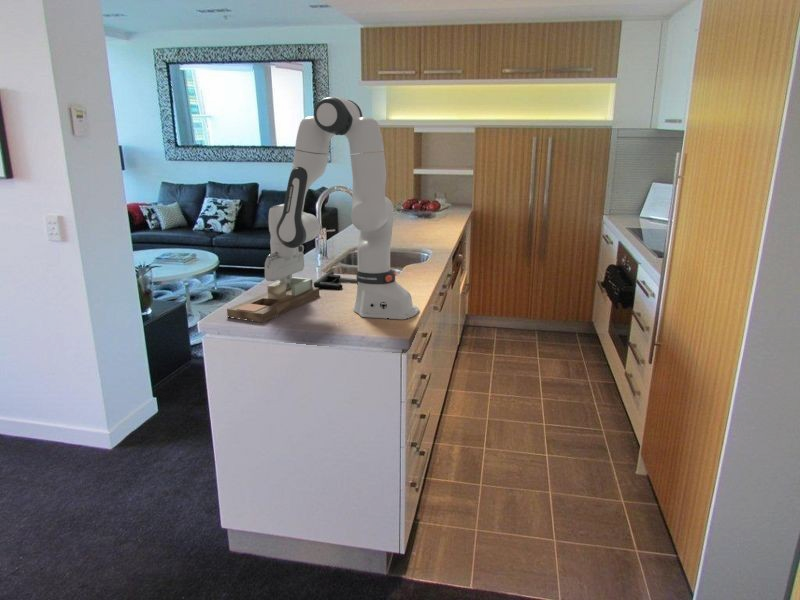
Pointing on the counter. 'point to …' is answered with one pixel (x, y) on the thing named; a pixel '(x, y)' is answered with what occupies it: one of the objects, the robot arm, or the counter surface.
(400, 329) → the counter surface
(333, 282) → the door handle
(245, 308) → the tile
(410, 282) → the counter surface
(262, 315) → the board
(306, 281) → the cubby
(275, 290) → the cube
